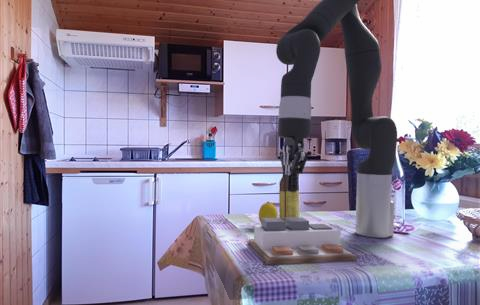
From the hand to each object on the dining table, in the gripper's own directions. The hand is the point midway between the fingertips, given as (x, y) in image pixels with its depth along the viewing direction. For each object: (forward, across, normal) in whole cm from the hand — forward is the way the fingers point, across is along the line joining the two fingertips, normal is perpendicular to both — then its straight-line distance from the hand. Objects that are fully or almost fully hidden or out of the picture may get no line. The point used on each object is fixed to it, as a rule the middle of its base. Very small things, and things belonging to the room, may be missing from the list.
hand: (291, 191), depth 82 cm
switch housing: (+14, 0, -2) cm, 14 cm away
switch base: (+14, -2, -2) cm, 14 cm away
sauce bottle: (+14, +28, -10) cm, 33 cm away
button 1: (+12, 0, -8) cm, 14 cm away
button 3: (+11, 0, +4) cm, 11 cm away
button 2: (+11, 0, -2) cm, 11 cm away
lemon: (+14, +21, -2) cm, 26 cm away
